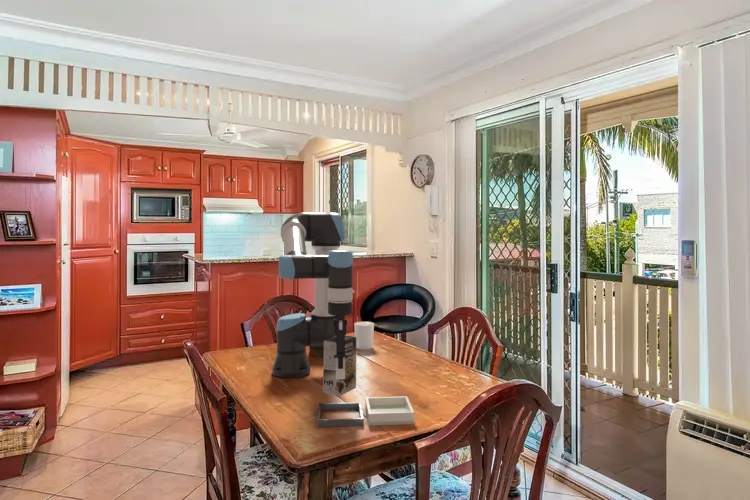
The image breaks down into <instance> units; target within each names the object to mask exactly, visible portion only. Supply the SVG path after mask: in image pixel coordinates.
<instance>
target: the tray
mask: <svg viewBox="0 0 750 500" xmlns="http://www.w3.org/2000/svg"><path fill="white" fill-rule="evenodd" d="M364 405H365V407H364V408H365V414H366V418H367V424H368V426H369V427H370V426H393V425H395V426H396V425H398V426H399V425H415V411H414V408H413V407H412V404H411V401H410V400H409V398H408V396H407V395H404V396H402V395H400V396H397V395H396V396H374V397H373V396H372V397H371V396H370V397H369V396H366V397H365V404H364Z"/></svg>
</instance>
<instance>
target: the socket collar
mask: <svg viewBox="0 0 750 500" xmlns="http://www.w3.org/2000/svg"><path fill="white" fill-rule="evenodd" d="M317 405H318V407H317V418H316V419H317V420H316V425H317V426H316V427H317V428H334V427H335V428H337V427H338V428H339V427H364V426H365V425H364V424H365V419H364V412H363V406H362V402H361V401H358V402H357V401H355V402H351V401H350V402H319V403H318V404H317ZM340 410H341V411H343V410H344V411H346V410H347V411H348V410H358V414H359V417H357V418H356V417H354V418H352V417H351V418H350V417H349V418H323V419H322V416H321V415H322V411H340Z"/></svg>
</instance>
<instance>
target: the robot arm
mask: <svg viewBox="0 0 750 500" xmlns="http://www.w3.org/2000/svg"><path fill="white" fill-rule="evenodd" d="M280 237H281V239H282V241H283V252H284V253H283V255H279V257H278V277H279V278H280V279H285V280H297V279H298V280H300V279H301V280H304V279H314V285H315V286H314V298H315V299H314V309H313V310H312V311H311V312H310V314H311V317H310V316H307V315H306V313H303V312H302V313H300V312H298V313H291V314H287V315H283V316H280V317H279V318H278V319H277V321H276V329H275V331H276V355H275V359H274V362H273V364H272V370H271V371H272V373H271V374H272V375H273V376H274V377H277V378H285V379H293V378H295V379H296V378H300V377H304V376H307V375H309V374H310V373H311V364H310V361H309V358H308V355H307V347H309V346H322V345H324V340H327V339H330V338H333V337H336V355H334V358H336V379H345V336H347V326H348V320H347V318H345V316H350V315H352V314H353V311H354V310H353V309H354V308H353V307H354V306H353V305H354V303H353V294H355V290H354V289H353V285H354V283H353V281H354V280H353V279H354V277H353V275H354V274H353V273H354V272H353V271H354V270H353V269H354V260H353V259H354V258H353V257H354V256H353V252H352V251H351V250H344V249H341V250H339V249H340V247H341V243H342V242H345V227H344V222H343V218H342V215H341V214H340V213H338V212H330V211H328V212H325V211H324V212H320V211H319V212H314V211H313V212H305V211H303V212H298V213H295V214H293V215H291V216H290V217H288V218H287V219H286V220H285V221H283V223H282V225H281V228H280ZM306 242H311V247H312V248H313V249H314V250H315V253H314V255H313V254H308V253H307V247H306ZM339 352H343V353H339Z"/></svg>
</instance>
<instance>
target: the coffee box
mask: <svg viewBox="0 0 750 500" xmlns="http://www.w3.org/2000/svg"><path fill="white" fill-rule="evenodd" d="M339 353H343V352H339ZM334 355H336V337H333V338H330V339H327V340H324V357H323V374H322V375H323V376H322V377H323V378H322V382H323V384H322V390H323V391H322V392H323V393H325V394H329V395H333V396H336V397H340V396H343V395H344V394H346V393H348V392H351V391H352V390H354V389H356V388H357V348H356V337H355V336H351V335H345V379H336V358H334Z"/></svg>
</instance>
